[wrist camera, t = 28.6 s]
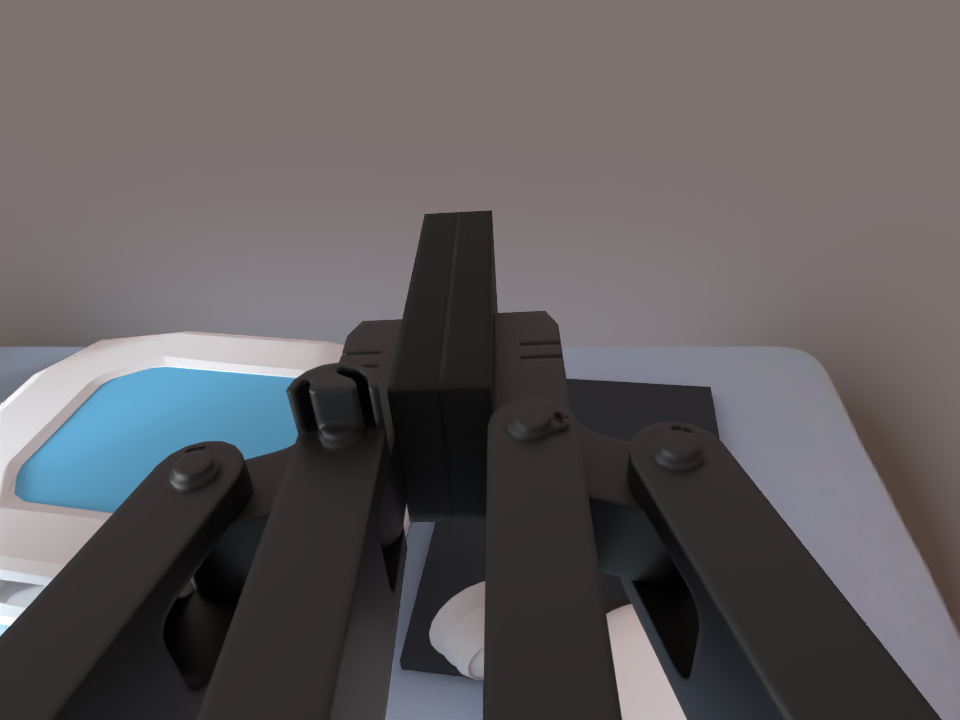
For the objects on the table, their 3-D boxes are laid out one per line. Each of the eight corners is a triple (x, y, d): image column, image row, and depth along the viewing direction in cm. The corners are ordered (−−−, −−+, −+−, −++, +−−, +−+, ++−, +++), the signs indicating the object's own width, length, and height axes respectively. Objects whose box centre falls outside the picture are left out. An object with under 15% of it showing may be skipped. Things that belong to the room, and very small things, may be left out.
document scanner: (120, 384, 57) (90, 321, 53) (448, 414, 51) (441, 348, 48) (-94, 609, 40) (-160, 542, 36) (356, 687, 35) (334, 619, 31)
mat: (401, 669, 36) (399, 661, 35) (474, 381, 55) (474, 373, 54) (761, 715, 33) (765, 707, 33) (709, 394, 52) (710, 386, 51)
